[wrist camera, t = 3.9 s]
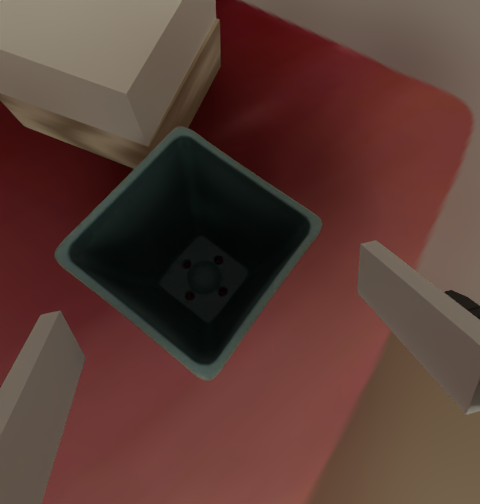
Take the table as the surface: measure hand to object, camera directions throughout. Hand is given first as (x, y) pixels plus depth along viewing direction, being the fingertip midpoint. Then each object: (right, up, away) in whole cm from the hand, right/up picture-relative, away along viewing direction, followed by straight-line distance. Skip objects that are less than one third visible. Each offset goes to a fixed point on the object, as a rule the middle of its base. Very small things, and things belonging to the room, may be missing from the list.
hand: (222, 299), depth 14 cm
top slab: (-9, +16, +9) cm, 20 cm away
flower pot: (-2, 0, +9) cm, 9 cm away
